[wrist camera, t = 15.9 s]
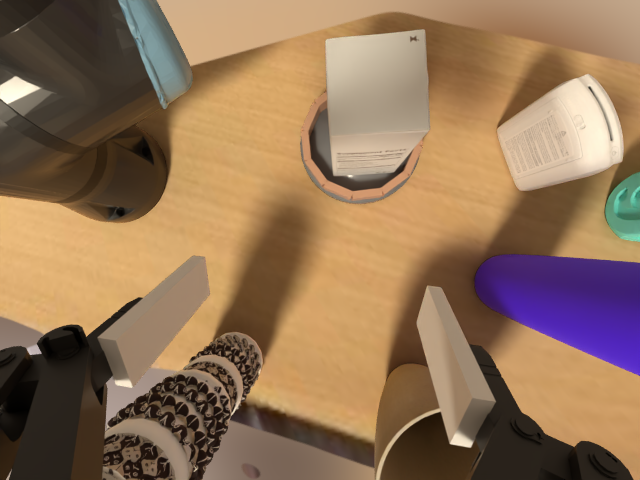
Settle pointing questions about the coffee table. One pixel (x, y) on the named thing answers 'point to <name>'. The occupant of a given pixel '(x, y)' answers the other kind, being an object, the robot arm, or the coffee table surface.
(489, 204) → the coffee table surface
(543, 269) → the bottle
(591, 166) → the photo printer
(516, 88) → the coffee table surface
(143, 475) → the decorative candle
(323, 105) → the ringed saucer
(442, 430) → the plant pot
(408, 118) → the supplement box
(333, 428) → the coffee table surface
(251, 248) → the coffee table surface
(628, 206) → the mint green rounded piece
